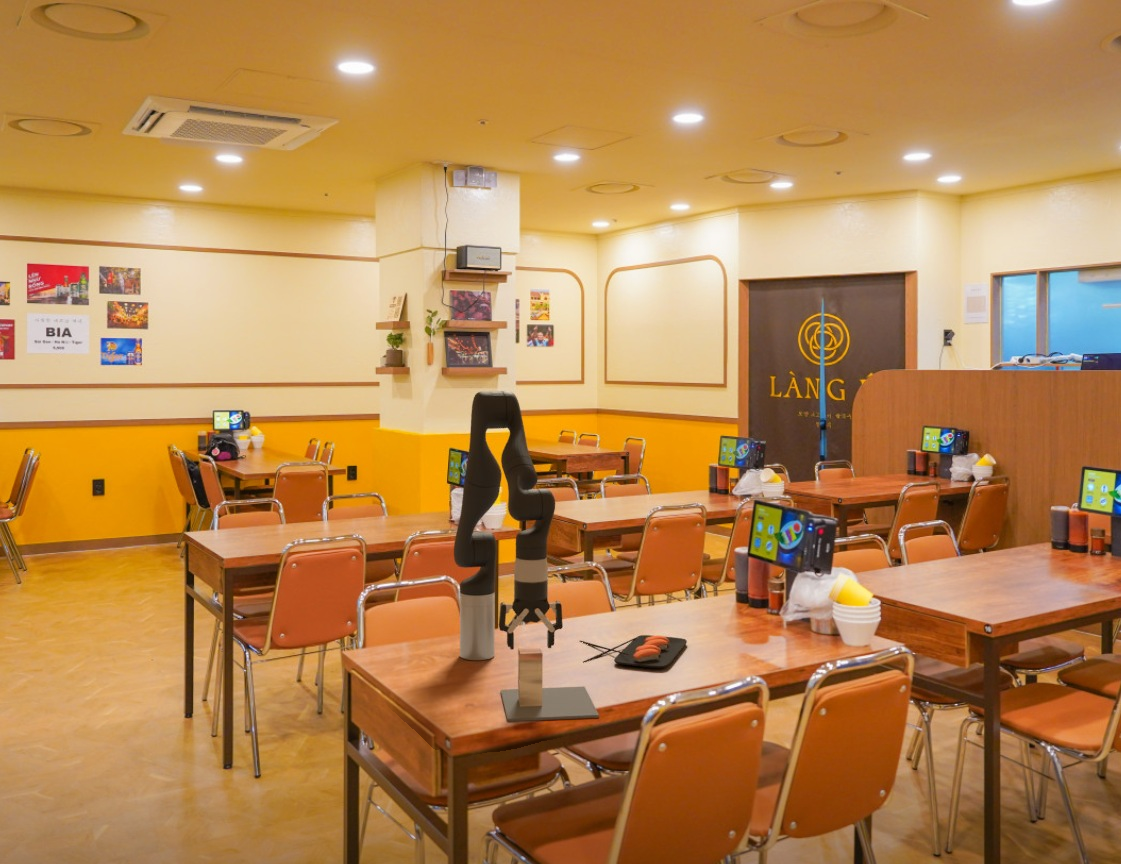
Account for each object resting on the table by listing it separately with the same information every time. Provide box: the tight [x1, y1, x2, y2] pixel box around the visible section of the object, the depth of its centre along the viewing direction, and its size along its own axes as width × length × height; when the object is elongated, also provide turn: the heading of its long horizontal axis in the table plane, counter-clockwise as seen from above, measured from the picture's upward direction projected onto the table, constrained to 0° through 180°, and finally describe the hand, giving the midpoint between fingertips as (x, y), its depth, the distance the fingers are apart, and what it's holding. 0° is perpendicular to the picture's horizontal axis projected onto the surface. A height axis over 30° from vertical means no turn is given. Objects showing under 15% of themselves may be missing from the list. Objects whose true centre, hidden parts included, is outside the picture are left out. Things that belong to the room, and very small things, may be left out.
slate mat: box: [500, 686, 600, 722], centre depth 222 cm, size 20×20×1 cm
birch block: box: [517, 646, 543, 707], centre depth 221 cm, size 5×5×12 cm
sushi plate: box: [580, 634, 688, 669], centre depth 265 cm, size 29×30×4 cm
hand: (530, 648), depth 221 cm, fingers open, 8 cm apart
